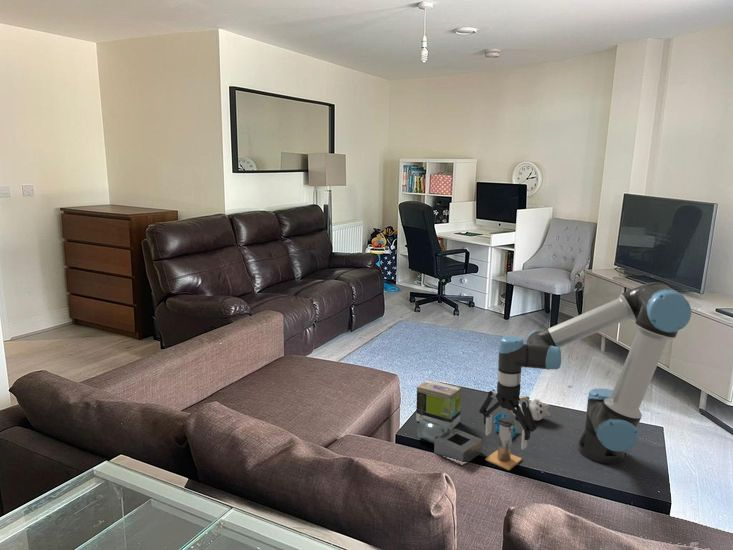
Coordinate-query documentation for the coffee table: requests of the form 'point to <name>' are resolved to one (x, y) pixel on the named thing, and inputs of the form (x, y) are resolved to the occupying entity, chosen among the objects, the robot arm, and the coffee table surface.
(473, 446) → the grey piece
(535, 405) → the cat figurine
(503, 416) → the gear
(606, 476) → the coffee table surface
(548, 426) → the coffee table surface
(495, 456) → the pad
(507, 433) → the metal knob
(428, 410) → the tea box
